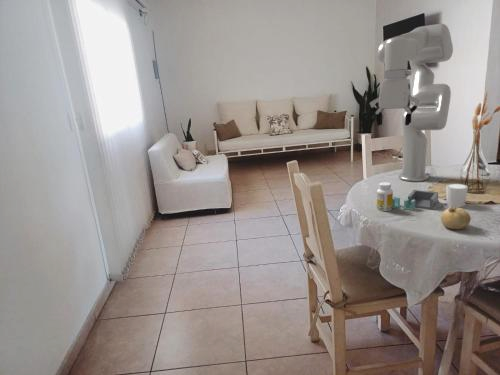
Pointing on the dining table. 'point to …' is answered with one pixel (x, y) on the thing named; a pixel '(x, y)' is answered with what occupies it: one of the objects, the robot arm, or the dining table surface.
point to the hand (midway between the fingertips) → (393, 124)
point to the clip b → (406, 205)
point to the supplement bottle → (384, 197)
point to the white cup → (456, 194)
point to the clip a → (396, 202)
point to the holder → (424, 199)
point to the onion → (455, 218)
